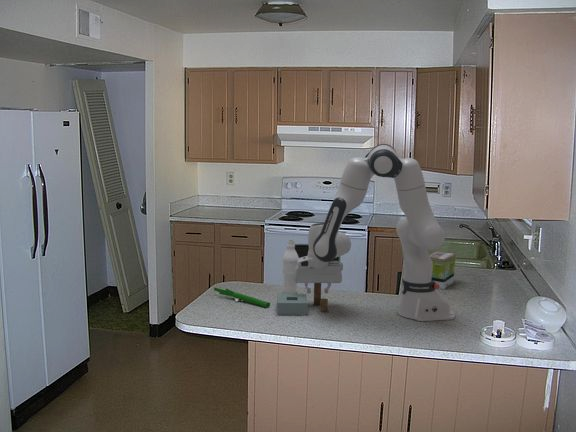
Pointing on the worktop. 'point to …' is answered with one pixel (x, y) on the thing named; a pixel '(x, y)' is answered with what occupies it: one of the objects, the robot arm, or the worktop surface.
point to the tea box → (442, 268)
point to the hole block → (292, 304)
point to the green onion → (242, 297)
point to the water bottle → (290, 269)
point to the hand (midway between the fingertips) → (317, 292)
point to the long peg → (317, 293)
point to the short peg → (323, 305)
